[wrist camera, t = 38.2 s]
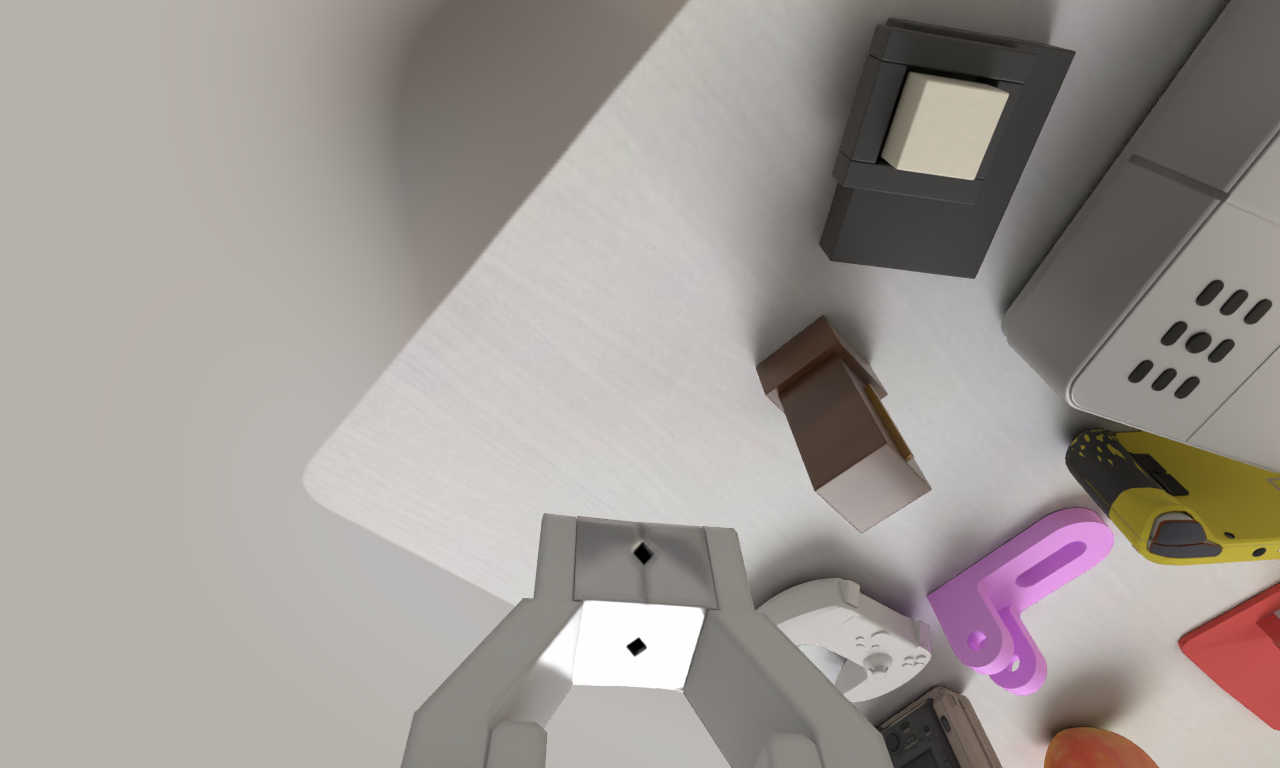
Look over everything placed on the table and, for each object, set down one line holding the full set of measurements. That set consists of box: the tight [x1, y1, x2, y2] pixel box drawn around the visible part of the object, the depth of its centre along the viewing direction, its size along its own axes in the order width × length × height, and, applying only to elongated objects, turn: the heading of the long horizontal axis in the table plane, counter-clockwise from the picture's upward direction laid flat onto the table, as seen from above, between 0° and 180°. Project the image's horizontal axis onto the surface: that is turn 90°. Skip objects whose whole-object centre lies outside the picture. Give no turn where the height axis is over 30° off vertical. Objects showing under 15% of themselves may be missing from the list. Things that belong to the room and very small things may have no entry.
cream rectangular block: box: [881, 72, 1009, 180], centre depth 30 cm, size 4×4×2 cm
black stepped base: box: [820, 18, 1076, 279], centre depth 33 cm, size 9×11×4 cm
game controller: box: [755, 578, 932, 702], centre depth 53 cm, size 14×4×10 cm
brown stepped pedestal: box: [756, 315, 932, 533], centre depth 37 cm, size 5×5×11 cm
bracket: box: [927, 508, 1114, 696], centre depth 49 cm, size 13×6×7 cm, turn 140°
